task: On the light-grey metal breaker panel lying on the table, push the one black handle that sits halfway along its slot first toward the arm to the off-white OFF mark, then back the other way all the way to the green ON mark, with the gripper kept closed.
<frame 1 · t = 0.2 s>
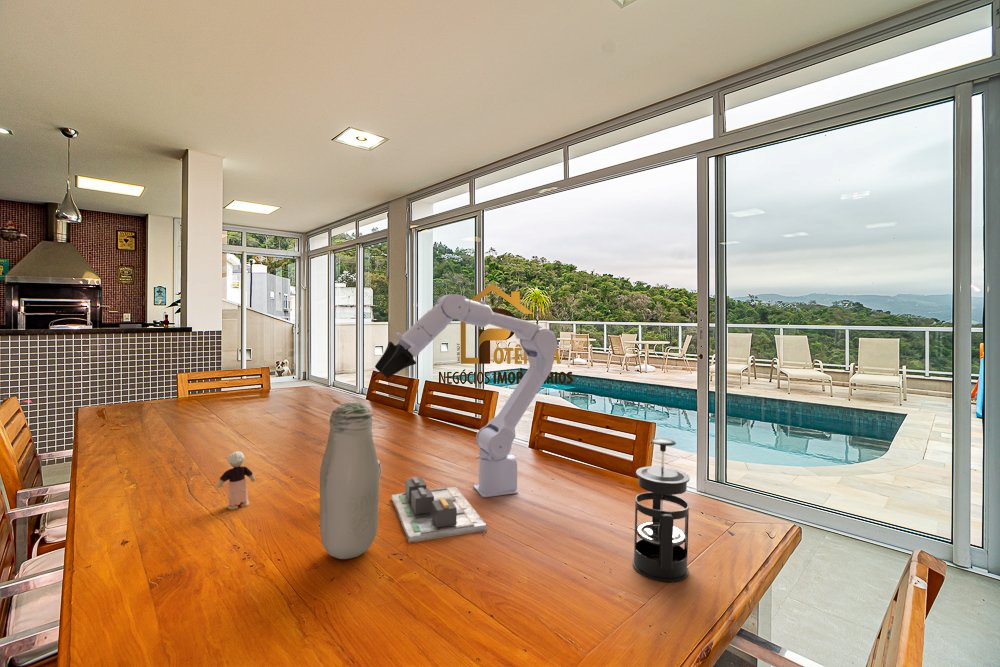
hand: (380, 372, 107), 31 cm above the table, tool tilted 45°, fingers open, 7 cm apart
breaker 1: (415, 488, 111), point 4 cm above the table, slide at 3.0 cm
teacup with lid: (364, 498, 114), on the table
tripped breaker: (443, 511, 98), point 4 cm above the table, slide at 0.0 cm
breaker panel: (435, 513, 105), on the table
french press: (660, 570, 83), on the table
glass bottle: (349, 554, 87), on the table
grandmother figurine: (236, 507, 107), on the table
breaker 2: (422, 500, 104), point 4 cm above the table, slide at 3.0 cm
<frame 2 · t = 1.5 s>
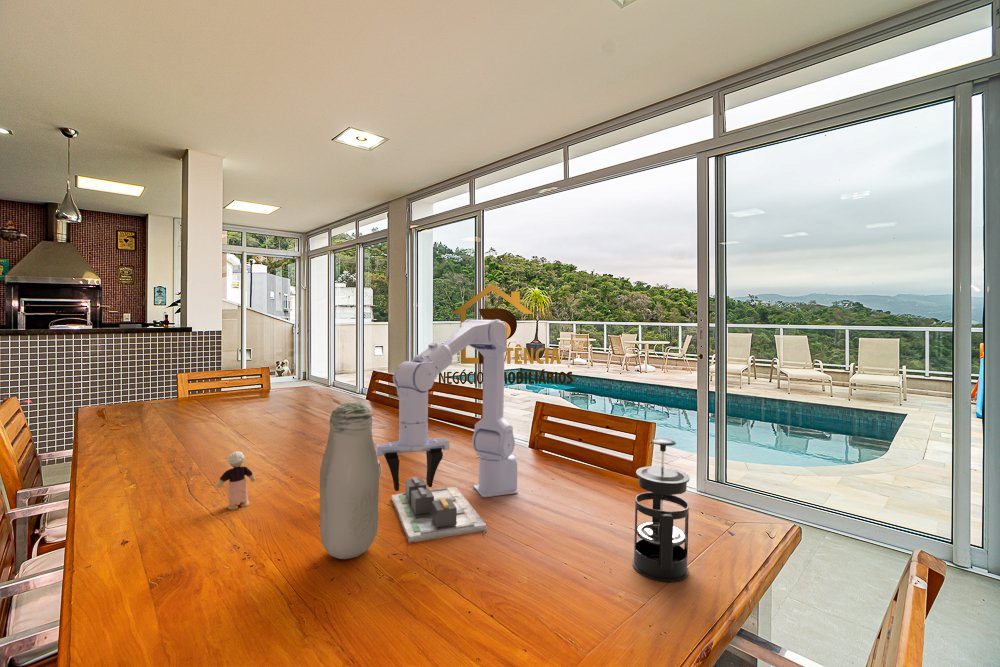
hand: (413, 487, 95), 9 cm above the table, tool pointing down, fingers open, 6 cm apart
nothing on the table moved.
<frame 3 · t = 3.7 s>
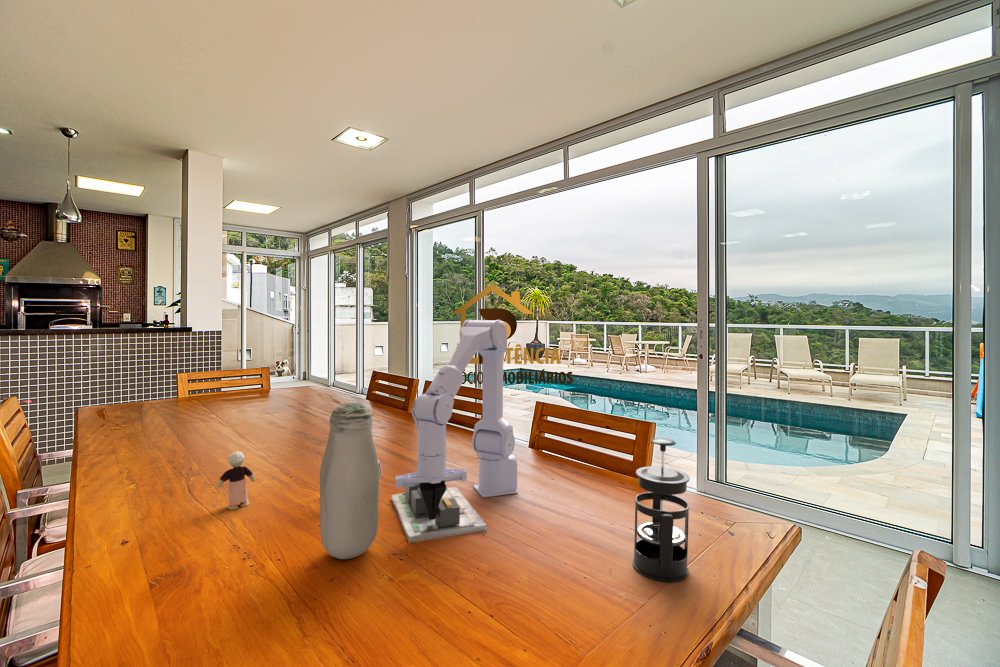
hand: (431, 517, 97), 3 cm above the table, tool pointing down, fingers closed
tripped breaker: (447, 510, 98), point 4 cm above the table, slide at -0.7 cm, touching gripper
everything else where it was.
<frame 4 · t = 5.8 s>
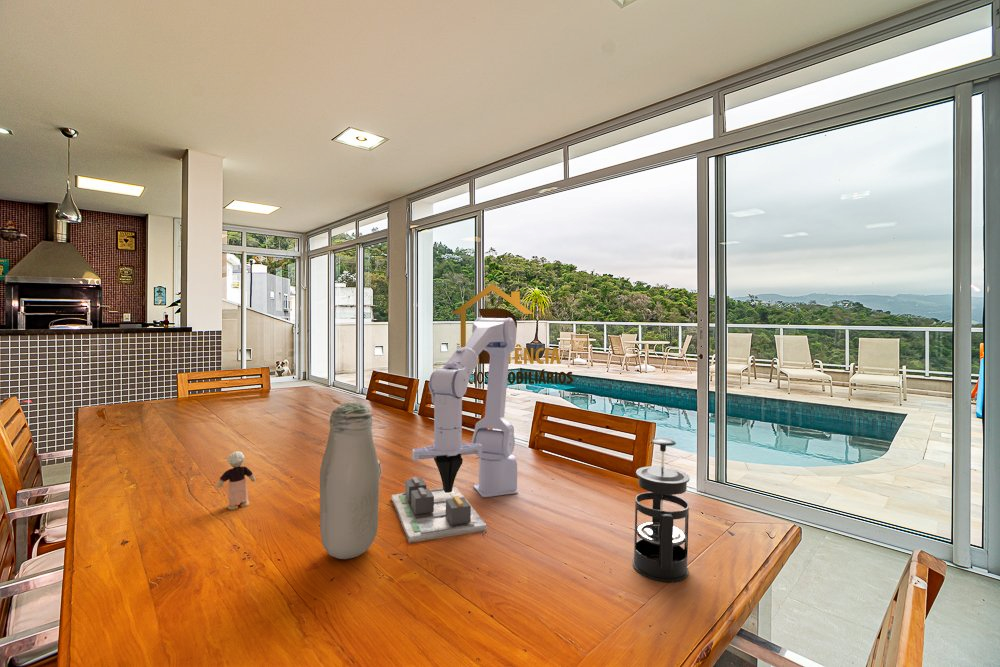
hand: (447, 490, 98), 8 cm above the table, tool pointing down, fingers closed
tripped breaker: (458, 509, 99), point 4 cm above the table, slide at -3.0 cm
everything else where it was.
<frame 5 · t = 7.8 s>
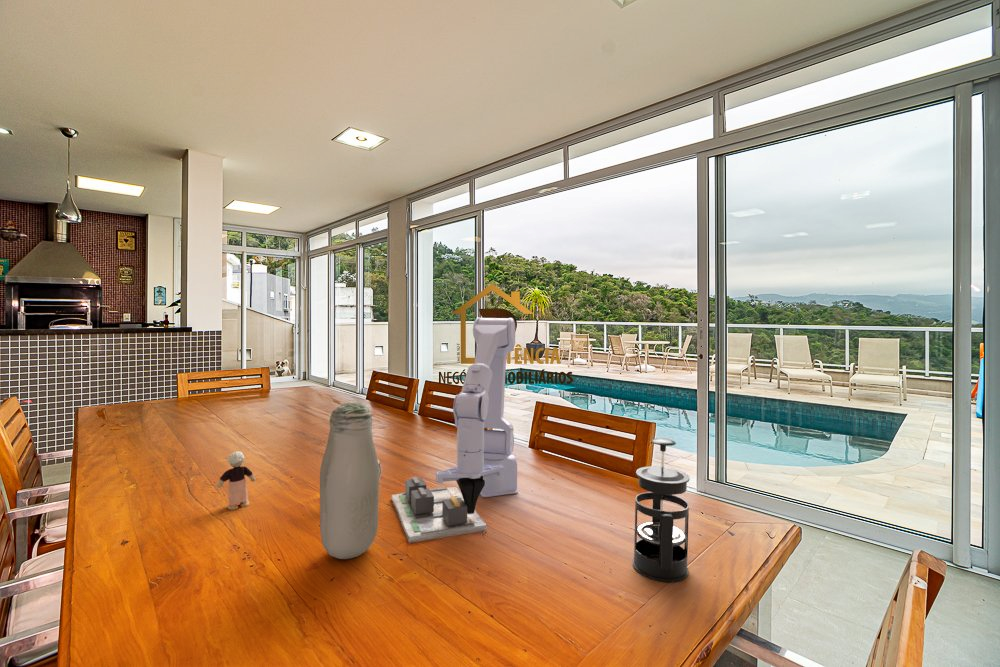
hand: (469, 512, 100), 3 cm above the table, tool pointing down, fingers closed
tripped breaker: (454, 509, 99), point 4 cm above the table, slide at -2.3 cm, touching gripper
everything else where it was.
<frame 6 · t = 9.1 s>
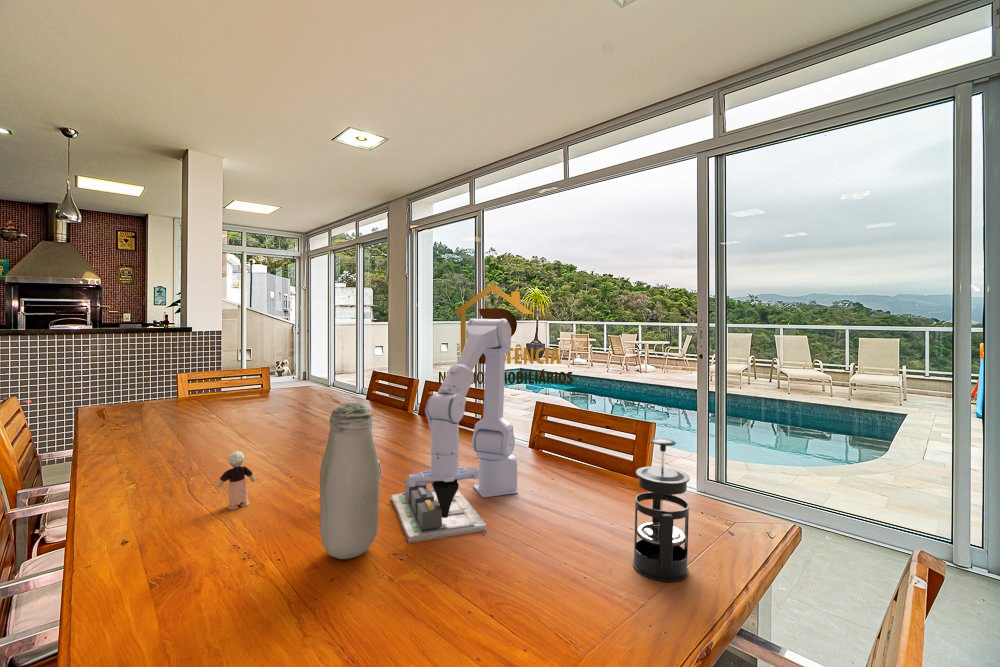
hand: (444, 515, 98), 3 cm above the table, tool pointing down, fingers closed
tripped breaker: (429, 513, 97), point 4 cm above the table, slide at 3.1 cm, touching gripper
everything else where it was.
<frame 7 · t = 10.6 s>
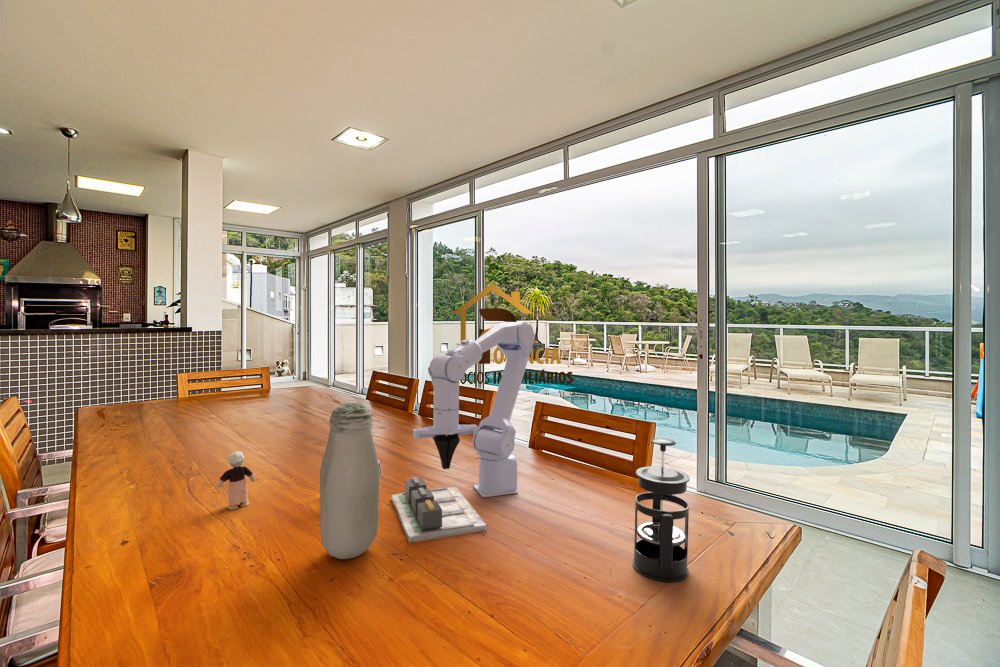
hand: (445, 467, 106), 10 cm above the table, tool pointing down, fingers closed
tripped breaker: (429, 513, 97), point 4 cm above the table, slide at 3.0 cm
everything else where it was.
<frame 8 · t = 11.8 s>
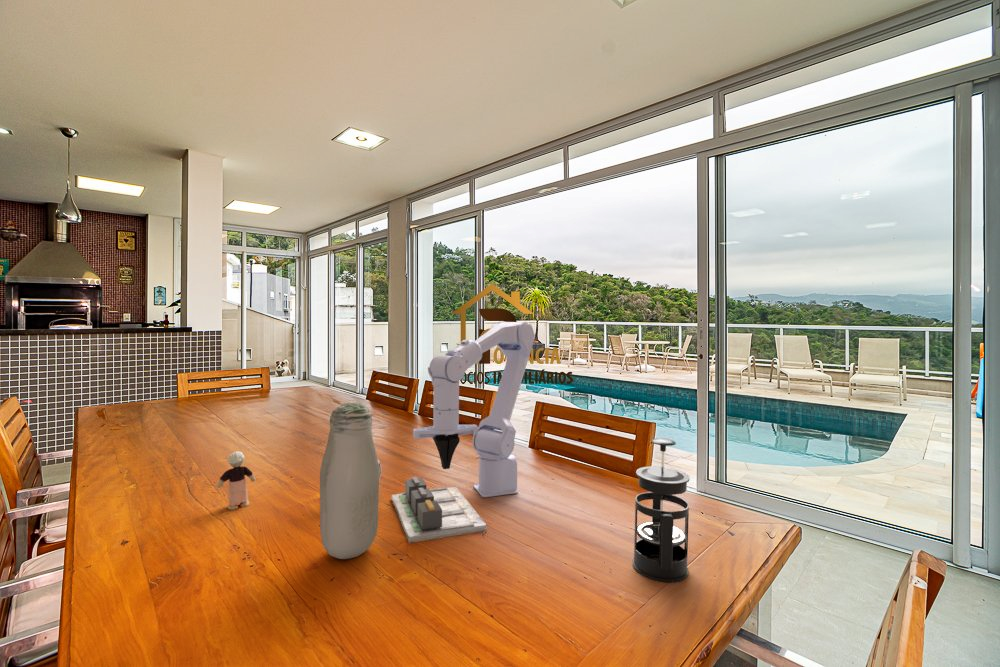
hand: (445, 467, 106), 10 cm above the table, tool pointing down, fingers closed
nothing on the table moved.
at the end: tripped breaker slide at 3.0 cm; breaker 2 slide at 3.0 cm; tripped breaker touching nothing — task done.
